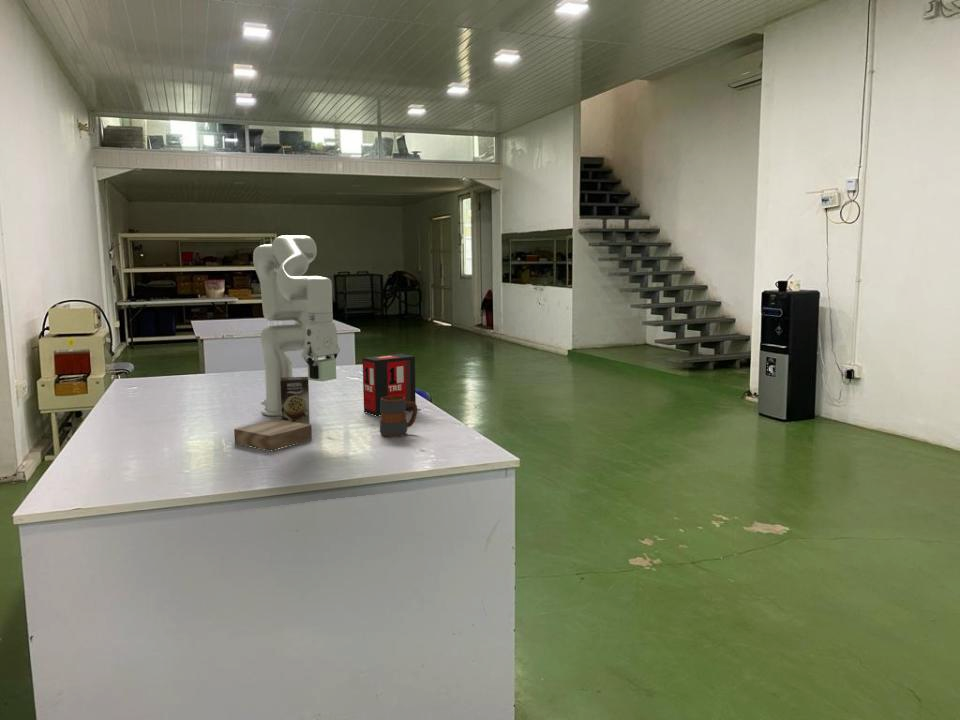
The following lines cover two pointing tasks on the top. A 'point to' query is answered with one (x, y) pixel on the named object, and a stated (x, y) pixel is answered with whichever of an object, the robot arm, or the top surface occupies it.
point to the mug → (395, 415)
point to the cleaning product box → (388, 380)
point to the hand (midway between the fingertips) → (322, 376)
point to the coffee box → (295, 399)
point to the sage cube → (325, 369)
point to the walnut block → (273, 434)
